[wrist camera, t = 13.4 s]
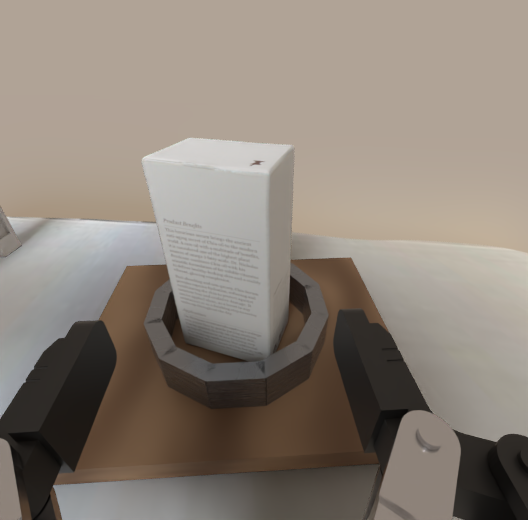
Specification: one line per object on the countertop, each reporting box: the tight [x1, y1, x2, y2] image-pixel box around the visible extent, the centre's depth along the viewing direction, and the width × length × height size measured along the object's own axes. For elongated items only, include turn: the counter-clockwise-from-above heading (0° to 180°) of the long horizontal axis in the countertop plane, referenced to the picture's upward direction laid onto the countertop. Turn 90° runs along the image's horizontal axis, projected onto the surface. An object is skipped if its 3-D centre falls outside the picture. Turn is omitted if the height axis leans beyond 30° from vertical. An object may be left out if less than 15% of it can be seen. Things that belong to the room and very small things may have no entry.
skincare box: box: [142, 138, 294, 362], centre depth 17 cm, size 6×4×12 cm
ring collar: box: [144, 263, 329, 409], centre depth 20 cm, size 11×11×2 cm
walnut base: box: [54, 258, 388, 485], centre depth 21 cm, size 20×16×2 cm
